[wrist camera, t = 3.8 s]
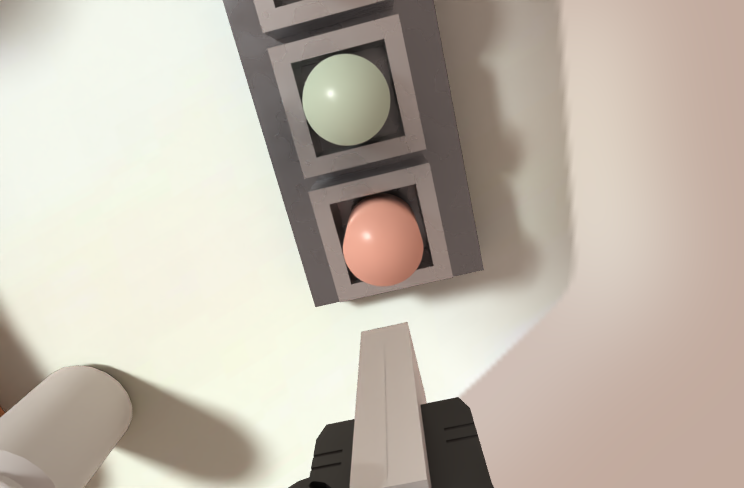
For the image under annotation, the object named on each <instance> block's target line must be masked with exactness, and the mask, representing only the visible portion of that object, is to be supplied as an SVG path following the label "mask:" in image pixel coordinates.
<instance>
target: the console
mask: <svg viewBox="0 0 744 488" xmlns="http://www.w3.org/2000/svg"><path fill="white" fill-rule="evenodd" d="M223 3H224V6H225V9H226V13H227V16H228V19H229V23H230V26H231V29H232V33H233V36H234V39H235V42H236V46H237V49H238V52H239V56H240V59H241V62H242V66H243V69H244V72H245V76H246V79H247V82H248V85H249V89H250V92H251V95H252V99H253V102H254V105H255V109H256V112H257V115H258V118H259V122H260V125H261V128H262V132H263V135H264V138H265V142H266V145H267V148H268V152H269V155H270V158H271V161H272V165H273V168H274V171H275V175H276V178H277V181H278V185H279V188H280V191H281V195H282V198H283V201H284V204H285V208H286V211H287V214H288V218H289V221H290V224H291V228H292V231H293V234H294V237H295V241H296V244H297V247H298V251H299V254H300V257H301V261H302V264H303V267H304V271H305V274H306V277H307V280H308V284H309V287H310V290H311V294H312V297H313V300H314V304H315V307H318V306H322V305H327V304H331V303H336V302H344V301H348V300H353V299H357V298H362V297H366V296H371V295H375V294H380V293H385V292H389V291H394V290H398V289H403V288H407V287H412V286H416V285H421V284H425V283H430V282H434V281H439V280H443V279H448V278H452V277H453V276H458V275H462V274H467V273H471V272H476V271H480V270H484V269H483V264H482V259H481V253H480V248H479V243H478V237H477V232H476V227H475V221H474V216H473V210H472V205H471V200H470V194H469V189H468V184H467V178H466V173H465V168H464V162H463V157H462V151H461V146H460V141H459V135H458V130H457V125H456V119H455V114H454V109H453V103H452V98H451V92H450V87H449V82H448V76H447V71H446V66H445V60H444V55H443V50H442V44H441V39H440V33H439V28H438V23H437V17H436V12H435V7H434V1H433V0H223ZM339 54H353V55H357V56H360V57H363V58H365V59H367V60H368V61H370V62H371V63H373V64H374V65H375V66H376V67H377V68H378V69H379V70H380V71H381V73H382V74H383V76H384V78H385V79H386V82H387V84H388V87H389V92H390V109H389V114H388V117H387V119H386V121H385V123H384V125H383V126H382V128H381V129H380V130H379V132H378V133H377V134H376V135H374V136H373V137H372V138H370V139H369V140H367V141H365V142H363V143H360V144H357V145H350V146H344V145H338V144H334V143H331V142H329V141H327V140H325V139H323V138H322V137H321V136H319V135H318V134H317V133H316V132H315V131H314V130H313V128H312V127H311V126H310V124H309V122H308V120H307V118H306V116H305V113H304V109H303V101H302V97H303V89H304V85H305V82H306V80H307V78H308V76H309V74H310V73H311V71H312V70H313V69H314V68H315V67H316V66H317V65H318V64H319V63H320V62H322V61H323V60H325V59H327V58H329V57H331V56H334V55H339ZM378 193H386V194H391V195H394V196H397V197H399V198H401V199H402V200H404V201H405V202H406V203H407V204H408V205H409V206H410V207H411V209H412V211H413V213H414V215H415V218H416V221H417V224H418V227H419V230H420V233H421V237H422V240H423V256H422V259H421V262H420V264H419V266H418V268H417V269H416V271H415V272H414V273H413V274H412V275H411V276H410V277H409V278H407V279H406V280H404V281H403V282H401V283H398V284H395V285H392V286H375V285H371V284H368V283H365V282H363V281H362V280H360V279H359V278H357V277H356V276H355V275H354V274H353V273H352V272H351V271H350V269H349V268H348V266H347V264H346V262H345V259H344V254H343V242H344V238H345V233H346V228H347V224H348V219H349V216H350V213H351V211H352V210H353V208H354V207H355V206H356V204H357V203H358V202H360V201H361V200H362V199H364V198H365V197H368V196H370V195H373V194H378Z"/></svg>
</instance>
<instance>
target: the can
mask: <svg viewBox="0 0 744 488" xmlns="http://www.w3.org/2000/svg"><path fill="white" fill-rule="evenodd" d="M131 419H132V404H131V401H130V398H129V396H128V393H127V392H126V390H125V389H124V388H123V387H122V385H121V384H120V383H119V382H118V381H117V380H116V379H114V378H113V377H111V376H110V375H109V374H107V373H106V372H103V371H101V370H98V369H96V368H93V367H87V366H79V365H76V366H69V367H63V368H61V369H59V370H57V371H55V372H53V373H52V374H50V375H49V376H48V377H47V378H46V379H45V380H43V381H42V382H41V383H40V384H39V385H38V386H36V387H35V388H34V389H33V390H32V391H31V392H29V393H28V394H27V395H26V396H25V397H24V398H22V399H21V400H20V401H19V402H18V403H17V404H16V405H14V406H13V407H12V408H11V409H10V410H9V411H7V412H6V413H5V414H4V415H3V416H2V417H0V488H84V487H85V486H86V484H87V483H88V482H89V480H90V479H91V478H92V476H93V475H94V474H95V472H96V471H97V470H98V468H99V467H100V465H101V464H102V463H103V461H104V460H105V459H106V457H107V456H108V455H109V453H110V452H111V451H112V449H113V448H114V447H115V445H116V444H117V442H118V441H119V440H120V438H121V437H122V436H123V434H124V433H125V432H126V430H127V429H128V427H129V425H130V422H131Z"/></svg>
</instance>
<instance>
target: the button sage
mask: <svg viewBox="0 0 744 488" xmlns="http://www.w3.org/2000/svg"><path fill="white" fill-rule="evenodd" d="M302 101H303V109H304V113H305V116H306V118H307V120H308V122H309V124H310V126H311V127H312V128H313V130H314V131H315V132H316V133H317V134H318V135H319V136H321V137H322V138H323V139H325V140H327V141H329V142H331V143H334V144H338V145H344V146H350V145H357V144H360V143H363V142H365V141H367V140H369V139H370V138H372V137H373V136H374V135H376V134H377V133H378V132H379V130H380V129H381V128H382V126H383V125H384V123H385V121H386V119H387V117H388V114H389V109H390V92H389V87H388V84H387V82H386V79H385V78H384V76H383V74H382V73H381V71H380V70H379V69H378V68H377V67H376V66H375V65H374V64H373V63H371V62H370V61H368V60H367V59H365V58H363V57H360V56H357V55H353V54H339V55H334V56H331V57H329V58H327V59H325V60H323V61H322V62H320V63H319V64H318V65H317V66H316V67H315V68H314V69H313V70H312V71H311V73H310V74H309V76H308V78H307V80H306V82H305V85H304V89H303V97H302Z"/></svg>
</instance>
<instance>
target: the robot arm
mask: <svg viewBox="0 0 744 488" xmlns="http://www.w3.org/2000/svg"><path fill="white" fill-rule="evenodd" d="M311 469H312V471H311V472H310V477H309V478H306V479H303V480H301V481H298V482H296V483H295V484H293V485H292V486H290V487H289V488H494V487H493V485H492V483H491V479H490V476H489V472H488V469H487V465H486V462H485V458H484V455H483V452H482V448H481V445H480V441H479V438H478V434H477V431H476V428H475V425H474V421H473V417H472V414H471V410H470V408H469V407H468V406H467V405H466V404H465V403H464V402H463V401H462V400H461V399H460V398H459V397H457V398H452V399H447V400H442V401H437V402H431V403H426V397H425V392H424V388H423V384H422V380H421V376H420V372H419V368H418V364H417V359H416V355H415V351H414V347H413V343H412V339H411V335H410V331H409V327H408V322H405V323H401V324H396V325H391V326H387V327H382V328H377V329H372V330H368V331H363V332H361V343H360V356H359V369H358V382H357V396H356V409H355V419H353V420H348V421H343V422H338V423H333V424H328V425H326V426H325V428H324V429H323V431H322V432H321V434H320V435H319V437H318V438H317V439H316V445H315V450H314V458H313V461H312V466H311Z"/></svg>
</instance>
